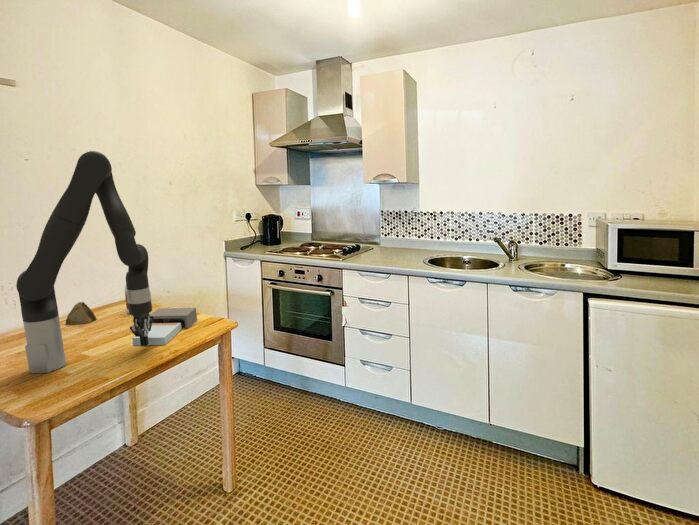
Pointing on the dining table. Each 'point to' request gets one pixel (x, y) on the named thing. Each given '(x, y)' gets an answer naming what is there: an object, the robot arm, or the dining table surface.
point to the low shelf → (175, 315)
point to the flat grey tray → (160, 333)
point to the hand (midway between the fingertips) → (144, 345)
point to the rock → (80, 314)
